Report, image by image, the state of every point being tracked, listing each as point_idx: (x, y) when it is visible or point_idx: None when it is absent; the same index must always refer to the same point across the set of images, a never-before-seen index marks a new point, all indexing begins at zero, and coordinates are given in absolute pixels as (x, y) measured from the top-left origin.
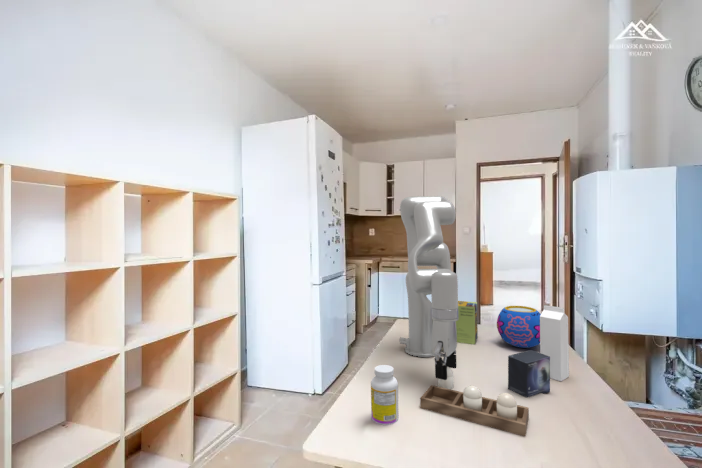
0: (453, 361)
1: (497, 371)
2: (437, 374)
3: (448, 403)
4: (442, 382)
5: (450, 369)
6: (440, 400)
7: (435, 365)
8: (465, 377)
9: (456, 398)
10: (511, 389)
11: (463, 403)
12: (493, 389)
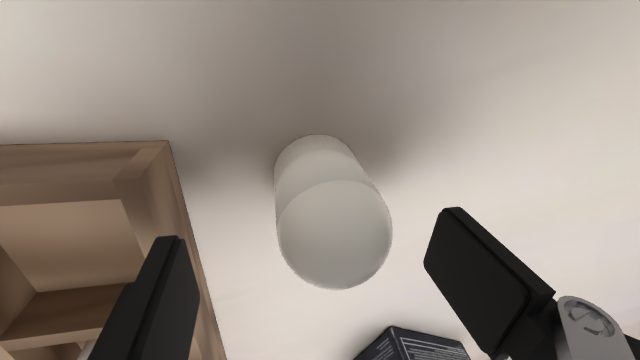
0: (454, 297)
1: (545, 270)
2: (125, 290)
3: (128, 252)
4: (275, 201)
5: (340, 289)
6: (126, 215)
7: (104, 353)
8: (477, 205)
9: (92, 332)
10: (385, 347)
11: (91, 349)
12: (392, 299)
